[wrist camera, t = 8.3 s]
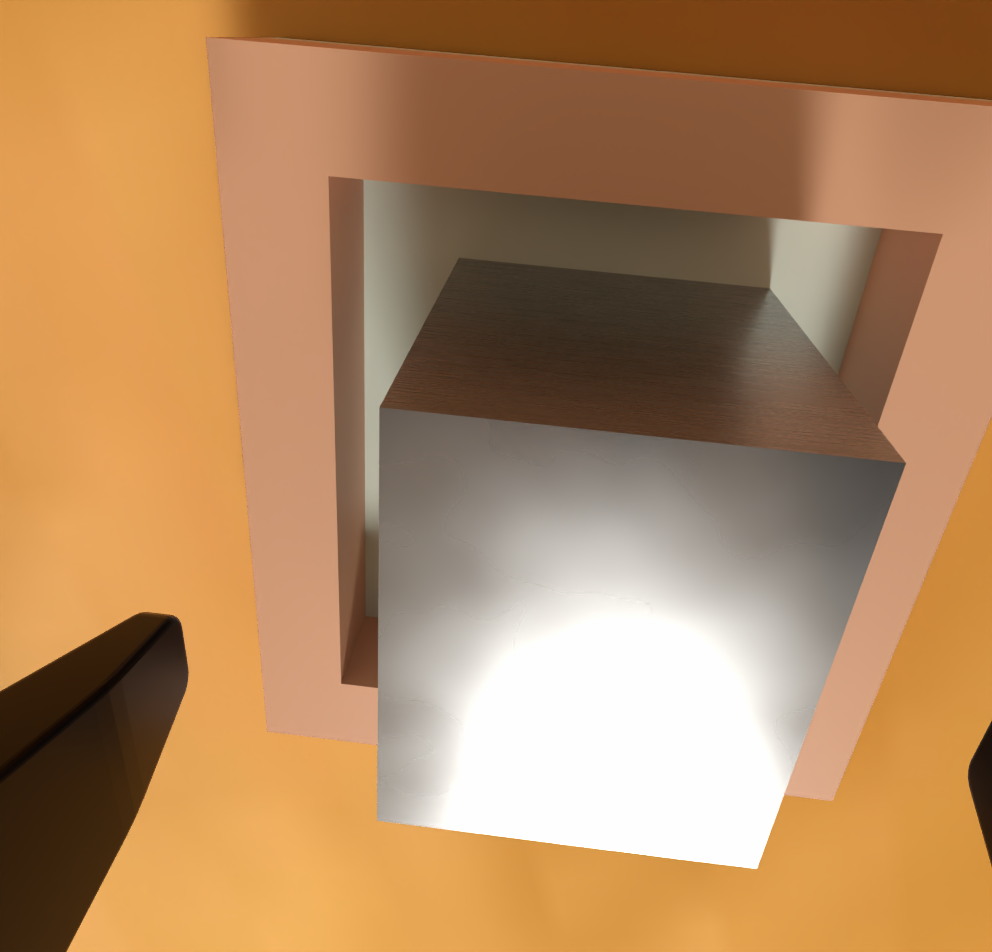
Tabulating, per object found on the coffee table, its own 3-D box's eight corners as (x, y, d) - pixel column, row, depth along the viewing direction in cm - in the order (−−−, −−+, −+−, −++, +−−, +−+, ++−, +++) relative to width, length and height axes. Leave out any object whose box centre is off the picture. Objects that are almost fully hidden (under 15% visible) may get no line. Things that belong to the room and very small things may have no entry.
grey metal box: (770, 288, 13) (905, 463, 8) (695, 590, 16) (757, 868, 10) (458, 257, 13) (379, 407, 8) (443, 561, 16) (376, 821, 11)
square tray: (1004, 100, 12) (1116, 117, 9) (796, 695, 18) (832, 800, 15) (279, 37, 12) (206, 36, 10) (308, 638, 18) (267, 731, 16)
